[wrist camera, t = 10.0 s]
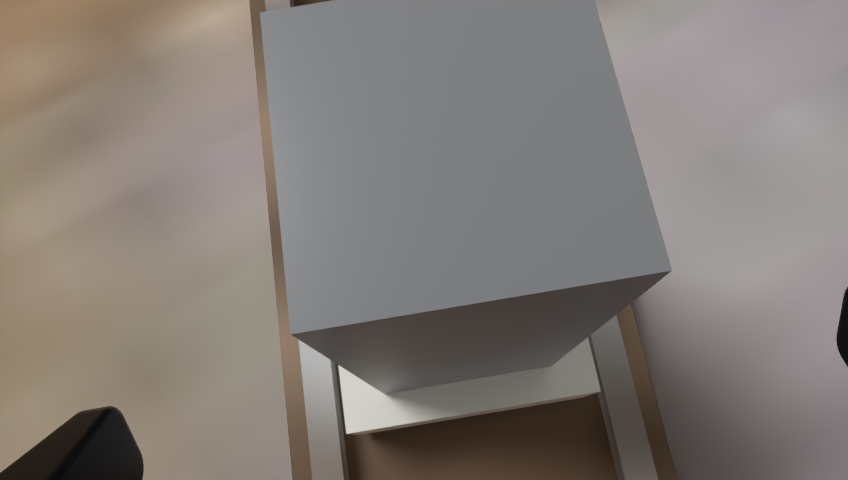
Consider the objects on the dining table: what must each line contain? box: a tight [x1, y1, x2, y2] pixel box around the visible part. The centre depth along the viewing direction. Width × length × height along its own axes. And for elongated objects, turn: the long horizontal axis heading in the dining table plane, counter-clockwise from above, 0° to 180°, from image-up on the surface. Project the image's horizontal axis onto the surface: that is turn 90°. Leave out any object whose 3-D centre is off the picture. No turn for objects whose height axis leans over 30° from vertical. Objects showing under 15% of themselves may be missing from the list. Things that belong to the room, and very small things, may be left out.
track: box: [250, 0, 677, 480], centre depth 18 cm, size 24×10×4 cm, turn 9°
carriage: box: [260, 0, 672, 435], centre depth 13 cm, size 6×6×11 cm
